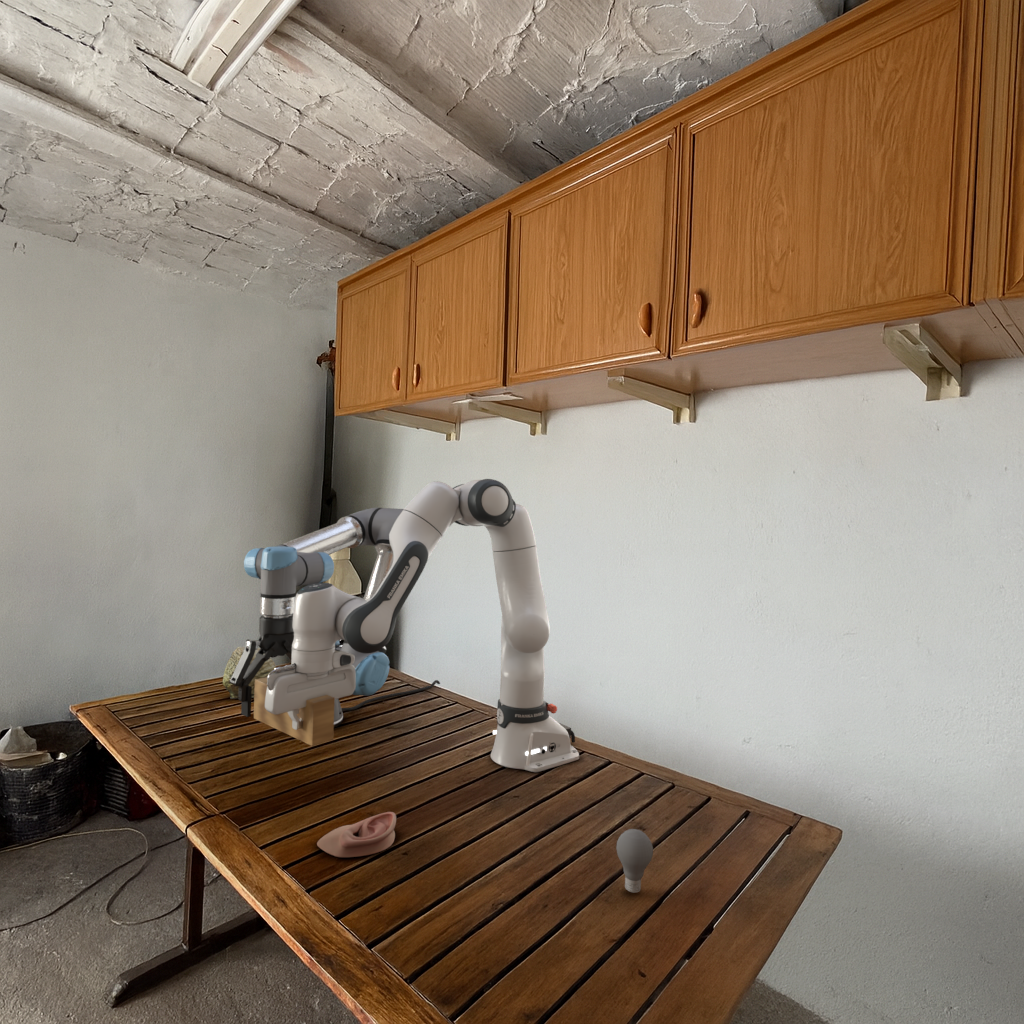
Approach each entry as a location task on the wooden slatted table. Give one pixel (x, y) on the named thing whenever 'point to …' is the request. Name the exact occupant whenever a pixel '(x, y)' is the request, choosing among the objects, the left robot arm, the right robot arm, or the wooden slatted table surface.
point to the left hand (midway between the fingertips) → (274, 708)
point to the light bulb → (634, 857)
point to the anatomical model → (361, 837)
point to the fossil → (231, 667)
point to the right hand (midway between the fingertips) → (311, 724)
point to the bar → (313, 715)
